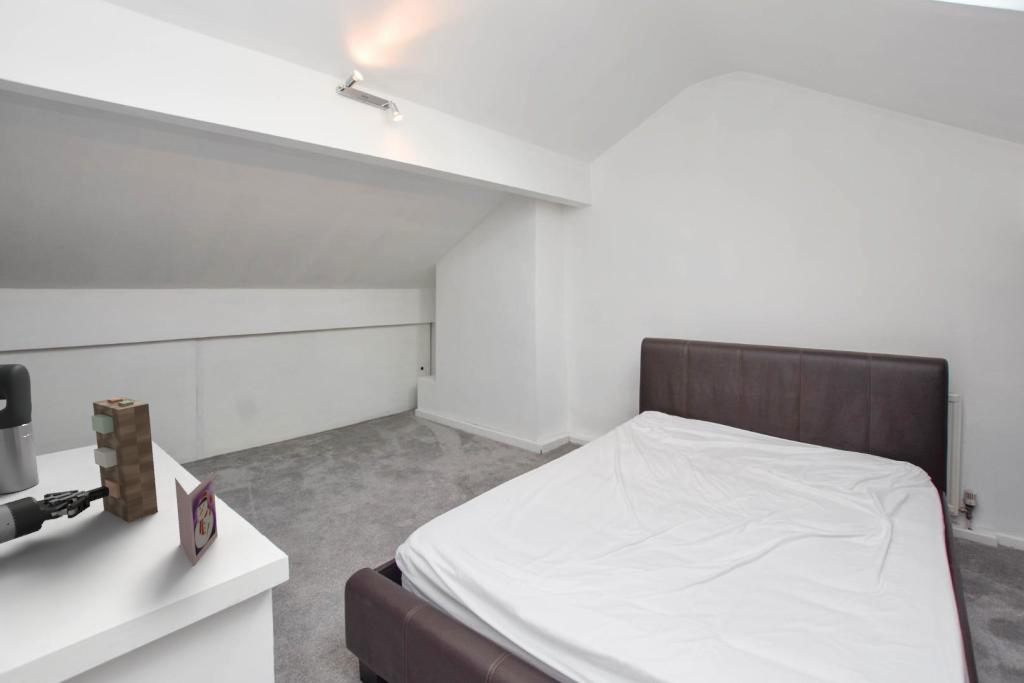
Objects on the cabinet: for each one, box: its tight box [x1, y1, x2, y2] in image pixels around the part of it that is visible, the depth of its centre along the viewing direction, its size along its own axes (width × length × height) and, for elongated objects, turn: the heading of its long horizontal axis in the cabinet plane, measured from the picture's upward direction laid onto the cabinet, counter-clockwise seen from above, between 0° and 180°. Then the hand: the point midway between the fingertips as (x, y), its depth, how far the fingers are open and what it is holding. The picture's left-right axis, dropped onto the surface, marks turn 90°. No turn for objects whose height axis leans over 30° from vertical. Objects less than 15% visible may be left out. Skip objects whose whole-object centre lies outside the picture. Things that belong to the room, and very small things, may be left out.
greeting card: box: [174, 471, 219, 567], centre depth 101 cm, size 11×7×15 cm, turn 10°
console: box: [92, 396, 159, 523], centre depth 117 cm, size 12×6×28 cm, turn 62°
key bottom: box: [105, 479, 121, 499], centre depth 116 cm, size 5×3×3 cm, turn 62°
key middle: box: [93, 447, 117, 468], centre depth 114 cm, size 5×3×3 cm, turn 62°
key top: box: [90, 414, 114, 434], centre depth 113 cm, size 5×3×3 cm, turn 62°
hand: (107, 490), depth 114 cm, fingers closed
